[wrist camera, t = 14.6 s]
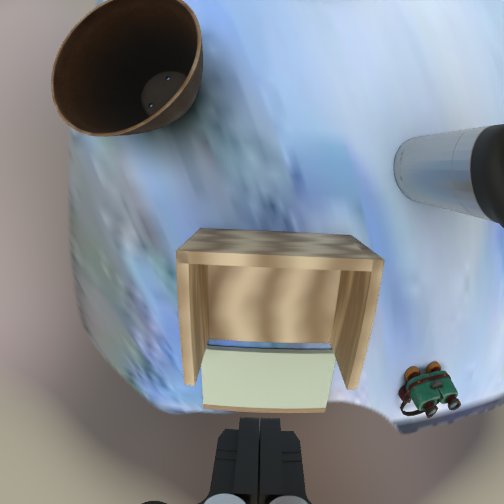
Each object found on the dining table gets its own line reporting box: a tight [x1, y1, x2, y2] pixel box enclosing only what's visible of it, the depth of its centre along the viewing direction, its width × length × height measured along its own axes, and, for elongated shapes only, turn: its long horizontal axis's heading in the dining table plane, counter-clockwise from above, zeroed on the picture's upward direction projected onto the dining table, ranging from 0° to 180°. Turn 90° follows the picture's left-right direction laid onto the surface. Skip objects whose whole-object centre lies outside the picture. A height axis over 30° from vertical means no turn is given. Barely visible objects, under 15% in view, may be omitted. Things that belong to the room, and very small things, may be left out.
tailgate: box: [201, 345, 336, 413], centre depth 44 cm, size 20×1×12 cm
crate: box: [176, 228, 384, 390], centre depth 36 cm, size 20×16×12 cm
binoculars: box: [399, 362, 461, 418], centre depth 41 cm, size 9×11×10 cm
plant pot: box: [51, 0, 203, 136], centre depth 28 cm, size 15×15×16 cm
